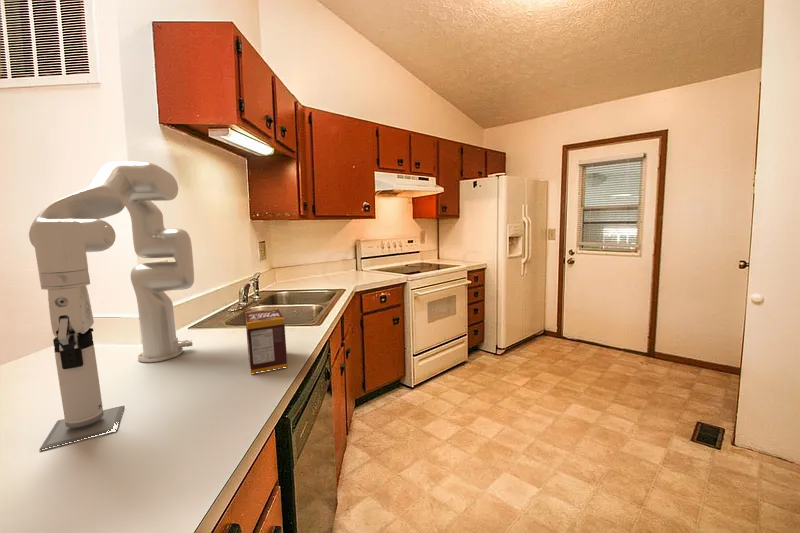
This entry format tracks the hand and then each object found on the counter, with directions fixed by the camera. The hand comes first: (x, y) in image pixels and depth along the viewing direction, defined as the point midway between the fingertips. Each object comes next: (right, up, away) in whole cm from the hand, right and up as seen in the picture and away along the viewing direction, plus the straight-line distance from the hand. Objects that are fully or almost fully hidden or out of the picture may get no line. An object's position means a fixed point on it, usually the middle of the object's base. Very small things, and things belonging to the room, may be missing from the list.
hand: (77, 361), depth 76 cm
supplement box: (+27, -10, +36) cm, 46 cm away
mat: (0, -15, +2) cm, 15 cm away
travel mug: (0, -14, +2) cm, 14 cm away
